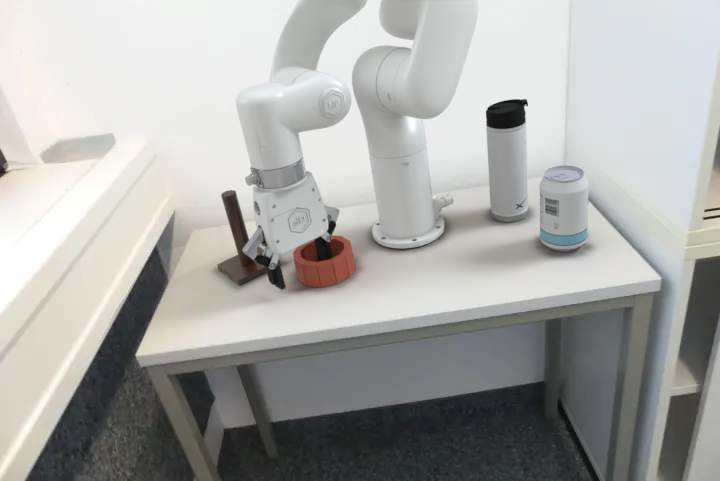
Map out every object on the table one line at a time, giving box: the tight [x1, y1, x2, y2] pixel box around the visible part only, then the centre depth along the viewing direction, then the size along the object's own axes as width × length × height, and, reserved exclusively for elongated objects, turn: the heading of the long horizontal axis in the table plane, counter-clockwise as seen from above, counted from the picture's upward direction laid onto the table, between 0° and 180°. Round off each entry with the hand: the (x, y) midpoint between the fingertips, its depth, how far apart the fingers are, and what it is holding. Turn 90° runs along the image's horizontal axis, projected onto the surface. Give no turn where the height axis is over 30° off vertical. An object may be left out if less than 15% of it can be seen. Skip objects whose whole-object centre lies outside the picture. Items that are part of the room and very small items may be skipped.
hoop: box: [292, 234, 357, 288], centre depth 96 cm, size 9×9×4 cm
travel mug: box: [485, 98, 529, 223], centre depth 100 cm, size 6×7×20 cm
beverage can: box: [539, 164, 590, 252], centre depth 91 cm, size 7×7×12 cm
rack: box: [217, 189, 282, 286], centre depth 99 cm, size 8×8×14 cm
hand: (302, 273), depth 95 cm, fingers open, 8 cm apart
